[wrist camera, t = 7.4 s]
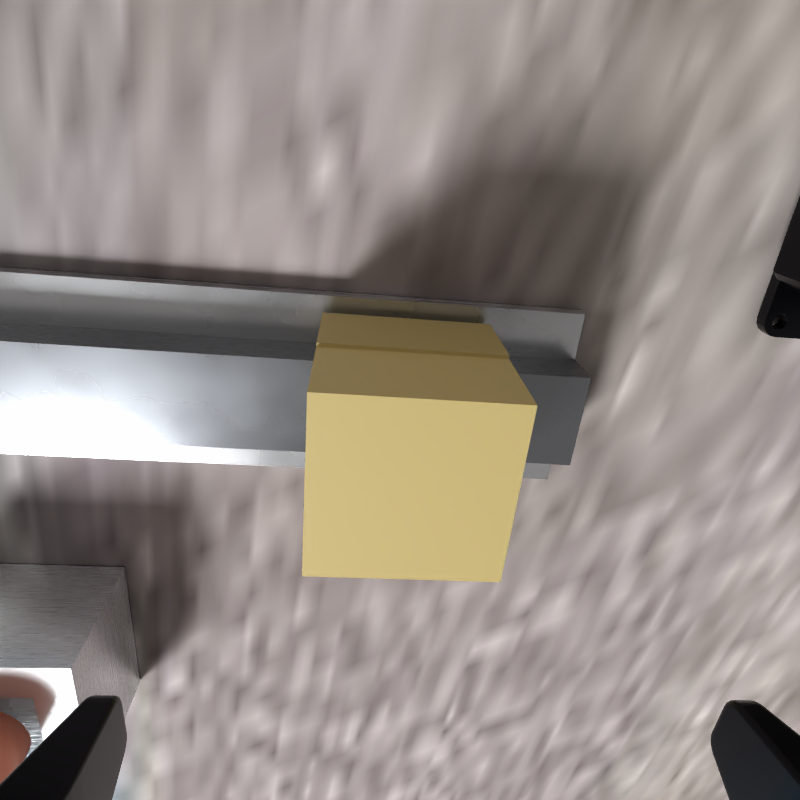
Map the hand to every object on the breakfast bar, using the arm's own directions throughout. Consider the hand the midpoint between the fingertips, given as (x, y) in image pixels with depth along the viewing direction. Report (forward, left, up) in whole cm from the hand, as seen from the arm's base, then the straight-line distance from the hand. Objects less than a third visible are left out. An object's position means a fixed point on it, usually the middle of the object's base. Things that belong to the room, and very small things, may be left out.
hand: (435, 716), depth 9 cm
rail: (+5, 0, -12) cm, 13 cm away
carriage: (0, 0, -12) cm, 12 cm away
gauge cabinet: (+12, +11, -12) cm, 20 cm away
